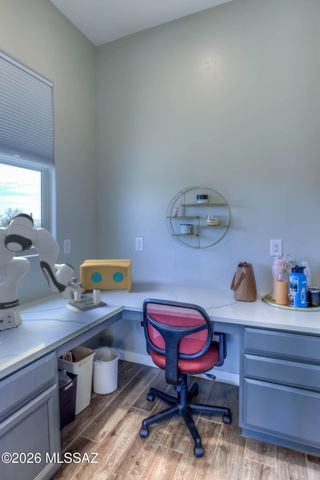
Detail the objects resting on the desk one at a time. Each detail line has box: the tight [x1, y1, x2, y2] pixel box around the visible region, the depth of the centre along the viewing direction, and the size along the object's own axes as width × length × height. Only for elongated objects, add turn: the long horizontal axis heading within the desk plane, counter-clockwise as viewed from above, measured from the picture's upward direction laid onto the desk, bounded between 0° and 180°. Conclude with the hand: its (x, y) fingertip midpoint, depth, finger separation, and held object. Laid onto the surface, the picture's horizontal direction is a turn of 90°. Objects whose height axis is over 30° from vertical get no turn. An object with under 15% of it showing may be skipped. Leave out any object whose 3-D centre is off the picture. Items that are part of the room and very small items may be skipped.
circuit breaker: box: [62, 276, 83, 300], centre depth 211 cm, size 8×14×15 cm, turn 78°
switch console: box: [63, 295, 108, 313], centre depth 193 cm, size 22×22×3 cm
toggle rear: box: [73, 286, 82, 302], centre depth 196 cm, size 3×4×11 cm
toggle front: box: [92, 287, 101, 304], centre depth 191 cm, size 3×4×11 cm
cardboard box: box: [79, 258, 133, 294], centre depth 234 cm, size 40×26×24 cm, turn 93°
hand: (79, 292), depth 184 cm, fingers closed
